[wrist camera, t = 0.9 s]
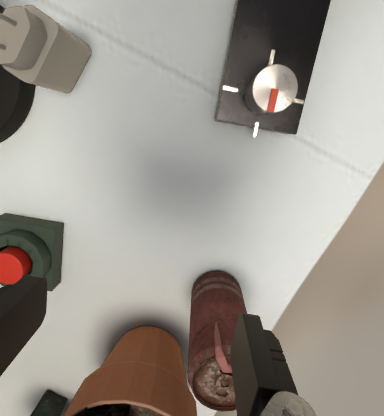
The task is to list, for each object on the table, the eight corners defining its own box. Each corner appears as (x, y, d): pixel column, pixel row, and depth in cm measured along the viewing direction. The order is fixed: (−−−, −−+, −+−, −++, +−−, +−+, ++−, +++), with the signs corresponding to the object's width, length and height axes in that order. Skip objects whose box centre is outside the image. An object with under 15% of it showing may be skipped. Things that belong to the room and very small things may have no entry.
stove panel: (237, -7, 28) (242, -24, 25) (319, 8, 28) (333, -7, 25) (212, 129, 32) (214, 129, 29) (285, 142, 32) (294, 143, 29)
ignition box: (5, 213, 35) (-19, 223, 31) (63, 223, 35) (46, 234, 31) (5, 273, 37) (-18, 289, 33) (60, 282, 37) (44, 300, 33)
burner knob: (248, 71, 27) (258, 59, 23) (286, 78, 27) (304, 67, 23) (240, 111, 28) (248, 107, 24) (277, 117, 28) (292, 115, 24)
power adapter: (93, 49, 30) (25, -2, 18) (69, 96, 31) (-9, 76, 20) (66, 30, 30) (-20, -34, 18) (43, 78, 31) (-53, 48, 19)
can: (230, 261, 36) (249, 342, 22) (246, 304, 37) (273, 405, 24) (184, 276, 36) (174, 363, 23) (201, 318, 38) (202, 423, 24)
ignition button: (-1, 244, 32) (-12, 250, 30) (32, 249, 32) (23, 256, 30) (-1, 273, 33) (-12, 281, 31) (31, 278, 33) (22, 286, 31)
